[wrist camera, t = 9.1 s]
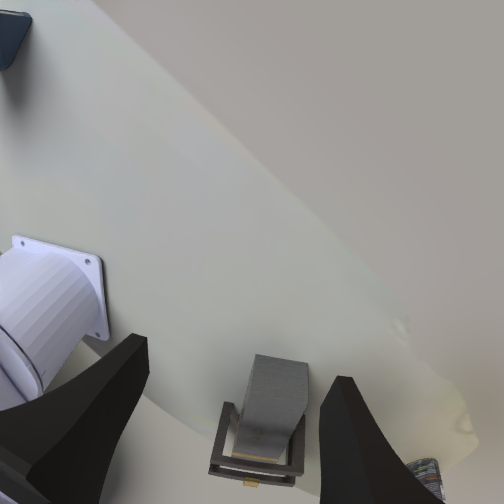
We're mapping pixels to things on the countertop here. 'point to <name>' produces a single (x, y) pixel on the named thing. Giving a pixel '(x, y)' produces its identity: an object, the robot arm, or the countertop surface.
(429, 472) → the pill bottle
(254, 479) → the dark grey rectangular frame
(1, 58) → the vaping device
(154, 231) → the countertop surface
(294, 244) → the countertop surface
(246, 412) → the gray rectangular prism
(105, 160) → the countertop surface
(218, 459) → the bracket
